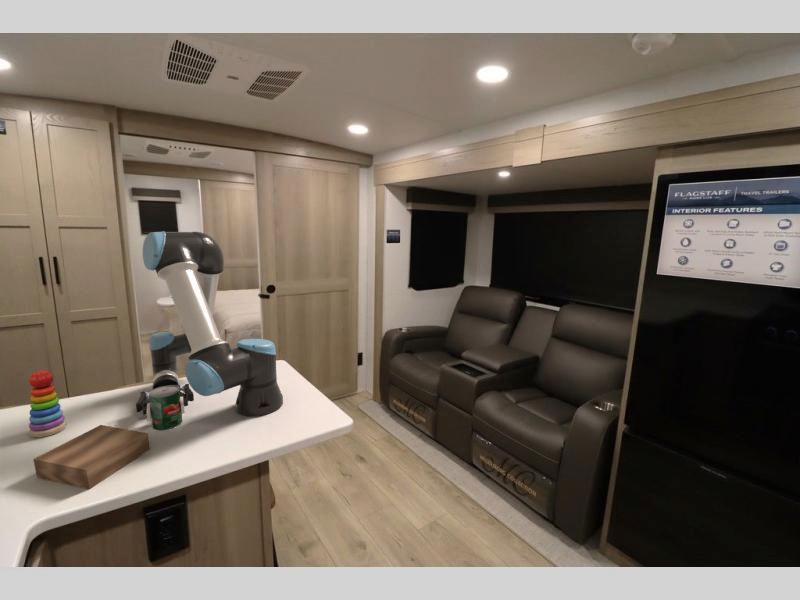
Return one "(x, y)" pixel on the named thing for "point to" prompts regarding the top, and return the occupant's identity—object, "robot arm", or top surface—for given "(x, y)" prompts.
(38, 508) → the top surface
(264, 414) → the robot arm
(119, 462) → the block
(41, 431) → the stacking toy
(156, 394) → the canned tomato
